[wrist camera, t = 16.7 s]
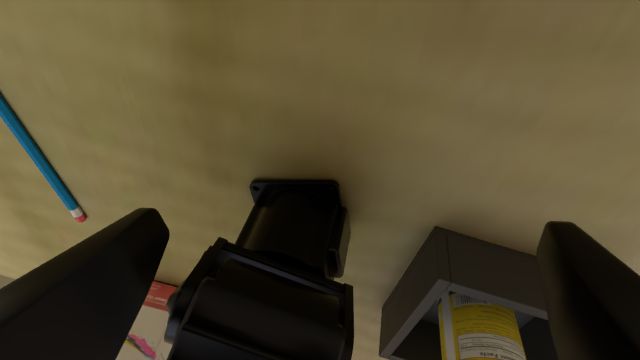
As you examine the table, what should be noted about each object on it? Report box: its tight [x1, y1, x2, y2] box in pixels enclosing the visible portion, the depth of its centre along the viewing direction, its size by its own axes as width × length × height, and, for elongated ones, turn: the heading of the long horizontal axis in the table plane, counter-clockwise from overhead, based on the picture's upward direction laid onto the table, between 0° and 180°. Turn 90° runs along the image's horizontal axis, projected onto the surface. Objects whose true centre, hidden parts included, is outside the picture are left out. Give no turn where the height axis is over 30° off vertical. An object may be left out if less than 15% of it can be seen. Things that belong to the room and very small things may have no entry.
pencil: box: [0, 94, 87, 222], centre depth 27 cm, size 1×17×1 cm, turn 5°
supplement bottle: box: [438, 289, 526, 360], centre depth 25 cm, size 5×5×10 cm
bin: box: [379, 227, 559, 360], centre depth 27 cm, size 12×12×4 cm
